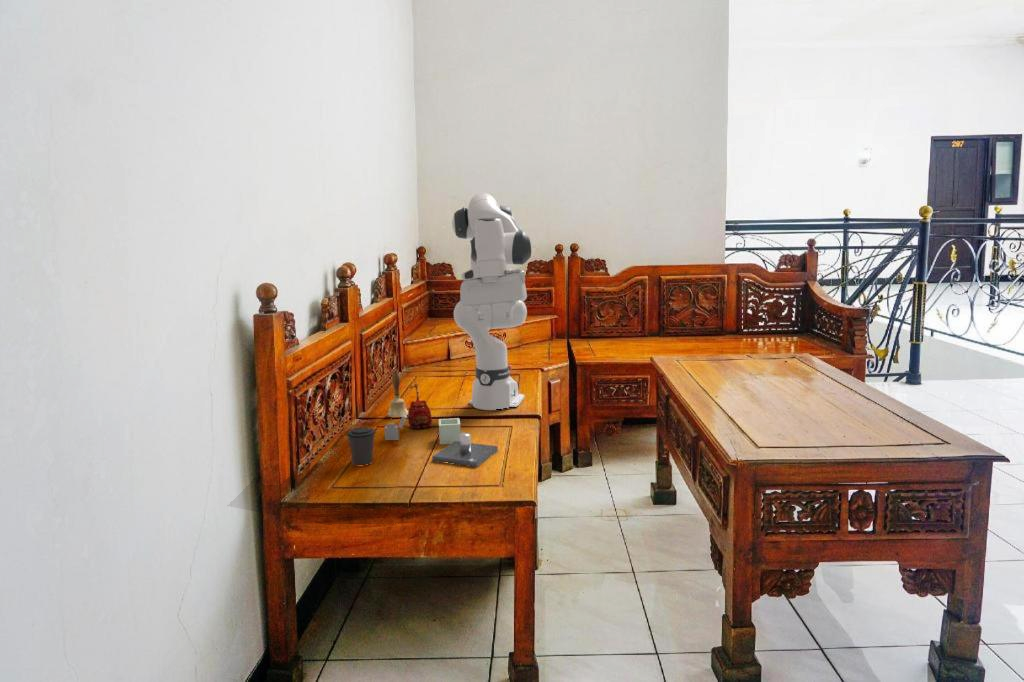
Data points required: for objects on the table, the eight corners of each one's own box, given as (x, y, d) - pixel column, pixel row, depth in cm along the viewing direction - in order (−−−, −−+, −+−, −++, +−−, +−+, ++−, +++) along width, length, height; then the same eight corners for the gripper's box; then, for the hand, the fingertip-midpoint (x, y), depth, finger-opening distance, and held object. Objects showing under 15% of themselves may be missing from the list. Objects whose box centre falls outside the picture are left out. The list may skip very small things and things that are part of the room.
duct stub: (455, 445, 217) (454, 425, 216) (497, 451, 212) (497, 429, 211) (432, 461, 205) (431, 439, 203) (476, 467, 199) (476, 444, 198)
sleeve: (439, 437, 225) (438, 419, 224) (460, 436, 226) (459, 418, 225) (439, 444, 219) (439, 425, 218) (460, 443, 220) (460, 424, 219)
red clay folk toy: (410, 431, 232) (408, 386, 230) (406, 425, 239) (404, 381, 236) (433, 428, 235) (431, 383, 232) (429, 422, 241) (427, 379, 238)
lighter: (385, 441, 223) (383, 416, 222) (385, 439, 225) (384, 414, 224) (408, 440, 224) (406, 415, 222) (408, 438, 225) (407, 413, 224)
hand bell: (383, 418, 247) (380, 373, 244) (390, 411, 255) (387, 367, 252) (406, 419, 246) (404, 373, 243) (413, 412, 254) (410, 367, 251)
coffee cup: (352, 458, 209) (350, 424, 207) (380, 457, 208) (378, 424, 207) (345, 468, 201) (342, 433, 199) (374, 467, 200) (371, 433, 199)
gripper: (528, 269, 210) (531, 316, 209) (466, 276, 218) (469, 322, 218) (520, 267, 204) (523, 315, 204) (456, 274, 212) (459, 321, 212)
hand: (494, 319), depth 211 cm, fingers open, 8 cm apart
